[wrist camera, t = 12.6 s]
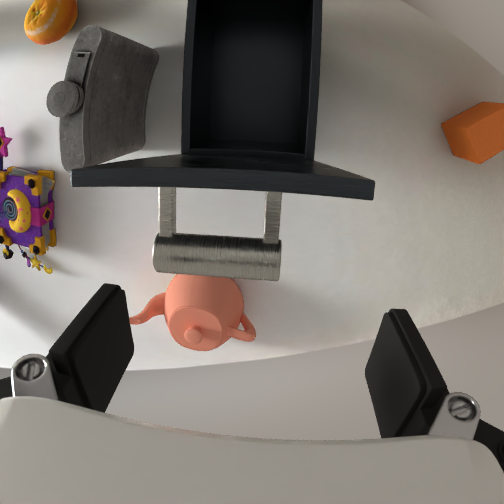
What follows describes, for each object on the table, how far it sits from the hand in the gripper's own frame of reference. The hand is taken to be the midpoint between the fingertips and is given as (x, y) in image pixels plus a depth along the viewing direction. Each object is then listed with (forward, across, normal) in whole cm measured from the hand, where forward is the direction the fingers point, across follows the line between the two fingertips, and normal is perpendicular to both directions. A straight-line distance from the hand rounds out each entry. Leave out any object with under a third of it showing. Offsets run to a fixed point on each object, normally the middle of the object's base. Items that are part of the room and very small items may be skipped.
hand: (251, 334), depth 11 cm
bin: (+33, +2, -12) cm, 35 cm away
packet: (+33, -28, -10) cm, 45 cm away
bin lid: (+13, +2, -4) cm, 13 cm away
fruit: (+33, +32, -24) cm, 52 cm away
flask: (+33, +18, -9) cm, 39 cm away
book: (+33, +39, +5) cm, 52 cm away
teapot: (+33, +9, +20) cm, 40 cm away
